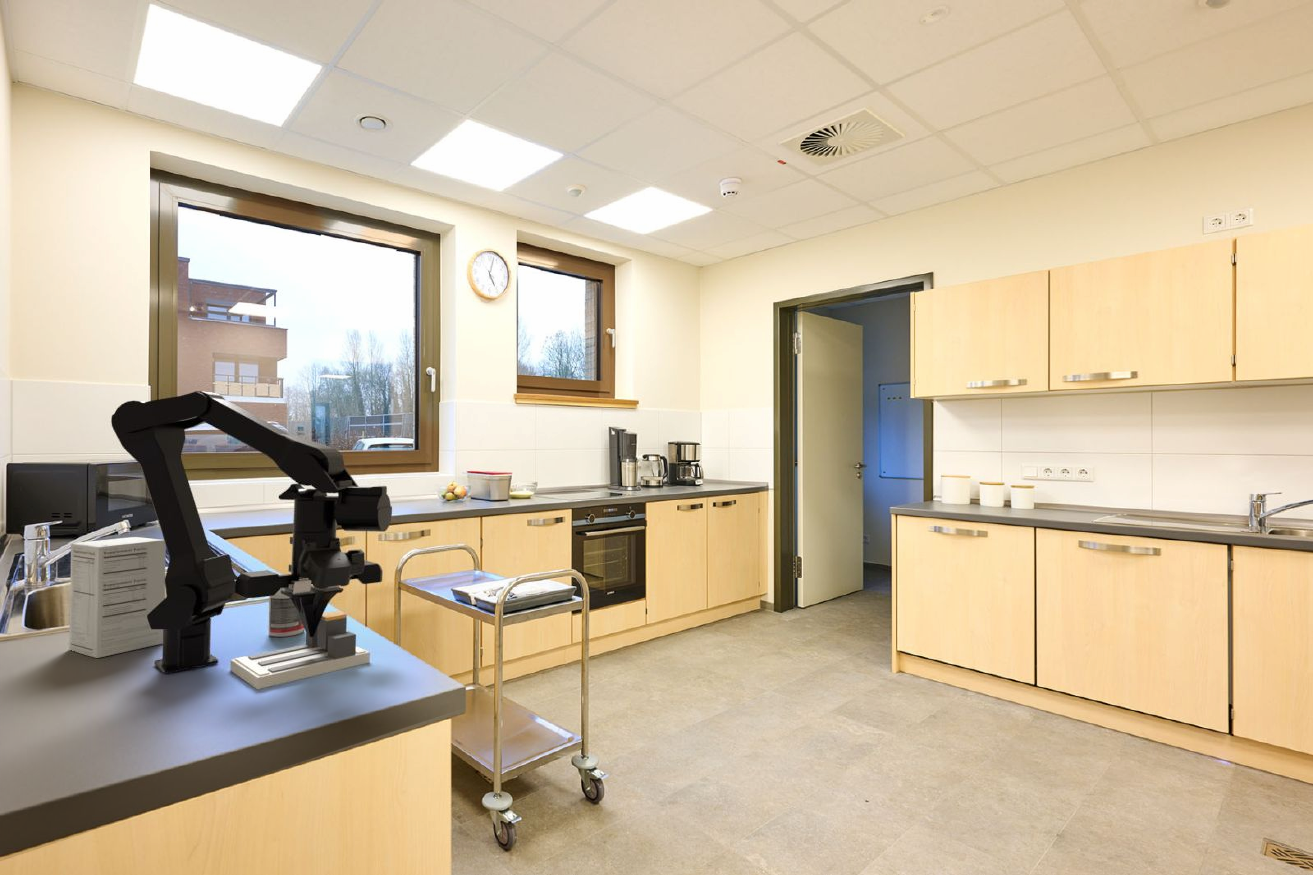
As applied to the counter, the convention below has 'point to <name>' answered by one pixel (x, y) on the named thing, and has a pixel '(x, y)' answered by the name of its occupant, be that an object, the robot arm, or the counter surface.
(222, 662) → the counter surface
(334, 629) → the block
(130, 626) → the supplement box
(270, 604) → the pill bottle
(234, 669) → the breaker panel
